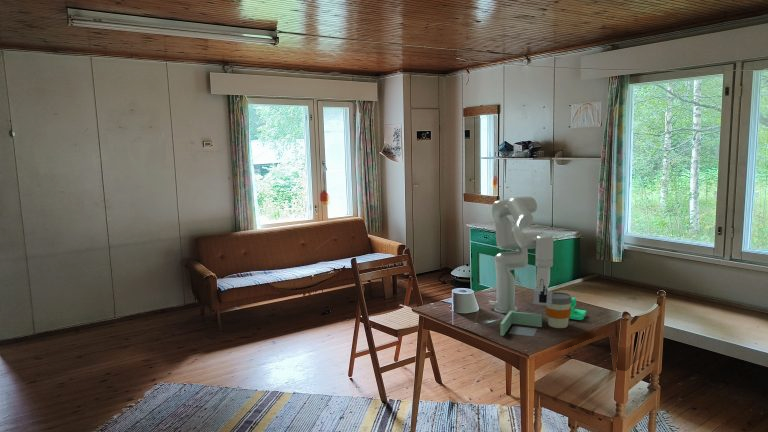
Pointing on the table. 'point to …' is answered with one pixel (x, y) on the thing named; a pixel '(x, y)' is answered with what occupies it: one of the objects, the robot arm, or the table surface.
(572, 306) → the camera mount
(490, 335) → the table surface
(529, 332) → the mat
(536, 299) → the bracket
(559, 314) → the reusable coffee cup
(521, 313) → the corner walls
